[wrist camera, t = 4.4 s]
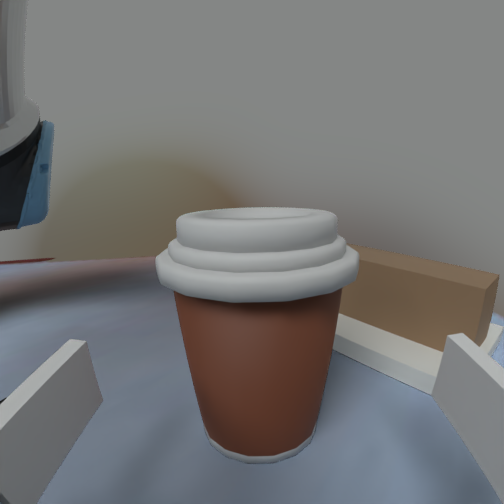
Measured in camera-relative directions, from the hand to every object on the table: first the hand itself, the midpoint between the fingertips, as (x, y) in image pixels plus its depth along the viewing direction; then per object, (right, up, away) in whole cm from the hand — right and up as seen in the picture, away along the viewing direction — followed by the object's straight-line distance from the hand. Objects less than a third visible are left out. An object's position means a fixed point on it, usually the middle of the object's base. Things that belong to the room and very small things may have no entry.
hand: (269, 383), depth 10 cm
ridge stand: (+11, -3, +18) cm, 22 cm away
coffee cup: (0, -6, +7) cm, 9 cm away
